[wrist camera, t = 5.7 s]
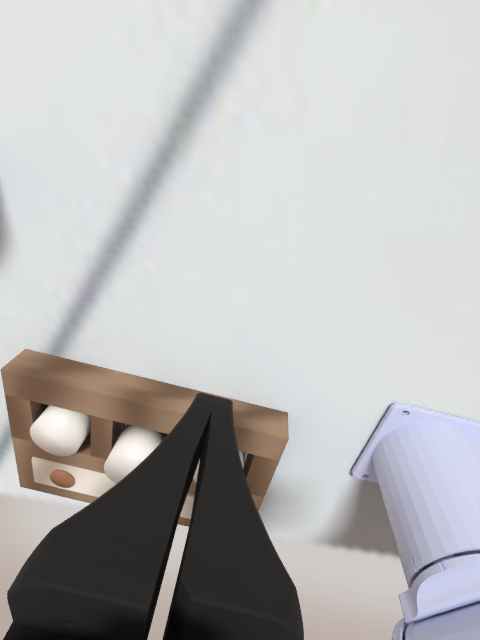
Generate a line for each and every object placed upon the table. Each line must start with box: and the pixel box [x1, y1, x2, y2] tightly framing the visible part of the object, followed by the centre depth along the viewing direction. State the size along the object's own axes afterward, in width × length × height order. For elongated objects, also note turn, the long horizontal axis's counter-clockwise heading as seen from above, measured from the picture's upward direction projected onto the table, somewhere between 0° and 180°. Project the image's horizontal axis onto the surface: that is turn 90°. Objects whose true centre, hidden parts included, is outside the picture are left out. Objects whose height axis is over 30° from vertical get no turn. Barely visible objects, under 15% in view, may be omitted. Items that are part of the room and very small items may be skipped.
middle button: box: [104, 424, 166, 484], centre depth 24 cm, size 4×4×3 cm
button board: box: [1, 349, 289, 526], centre depth 27 cm, size 20×13×3 cm, turn 77°
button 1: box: [30, 405, 91, 456], centre depth 25 cm, size 4×4×3 cm
